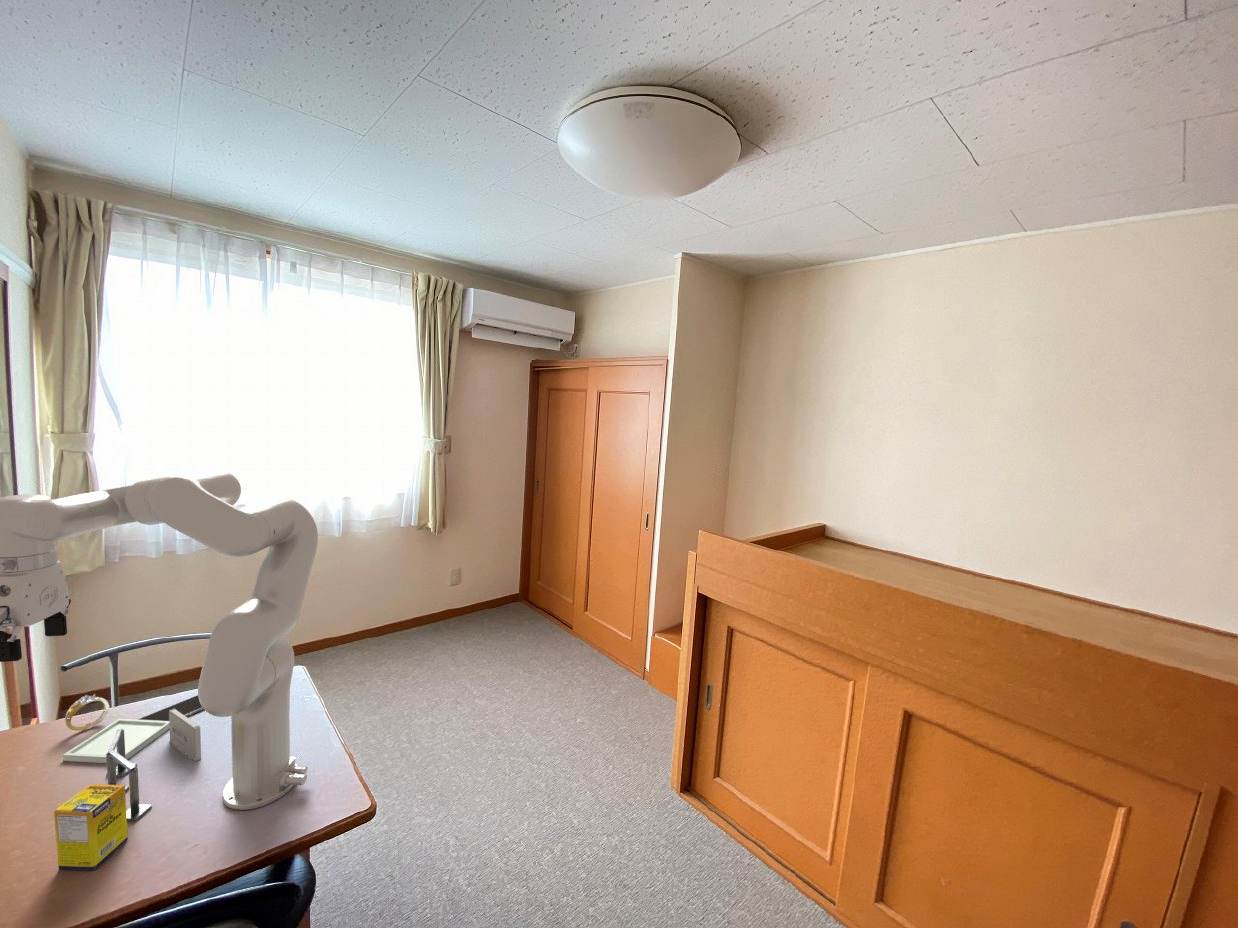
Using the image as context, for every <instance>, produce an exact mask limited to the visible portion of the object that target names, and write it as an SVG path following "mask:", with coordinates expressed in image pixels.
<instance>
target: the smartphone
mask: <svg viewBox="0 0 1238 928" xmlns="http://www.w3.org/2000/svg"><path fill="white" fill-rule="evenodd" d="M172 709H176V710H177V711H178V712H180V713H181V714H183V715H184V716H186V717H187V718H189V717H191V716H194V715H195V714H198V713H200V712H203V711H205V710H204V709H203V707H202V706H201V704H200V701H199V698H198V694H197V695H195V696H192V697H190V698H188V699H185V700H182V701H180V702H177V703H175V704H173V705H170V706H168V707H165V708H163V709H160V710H157V711H155V712H153V713H150V714H148V715H145V716H143V717H141V718H137V720H156V721H169V710H172Z"/></svg>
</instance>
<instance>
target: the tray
mask: <svg viewBox="0 0 1238 928" xmlns="http://www.w3.org/2000/svg"><path fill="white" fill-rule="evenodd" d="M118 729H122V730H124V738H125V757H126V760H128V761H129V759H130V758H132V757H133V756H134V755H136V754H138V753H139V751H141V750H142V749H144V748H145V747H146V746H148V745H149V744H151V743H152V742H154V741H155V740H156V739H158V737H160V736H161V735H163V734H164V733H166V732H167V731H168V730H170V726H169V721H156V720H138V718H137V719H134V718H117V719H116V720H115V721H113V722H111V723H110V724H109V725H107V726H105V727H104V728H102V729H101V730H99V731H97V732H96V733H95V734H93V735H91V736H90V737H89V738H86V739H85V740H83V741H82V742H81V743H79V744H77V745H75V746H74V747H72V749H71V748H70V750H68V751H67V752H65V753H63V754H62V761H64V762H73V763H74V762H77V763H94V764H95V763H96V764H97V763H98V764H99V763H100V764H107V760H106V754H107V753H108V750H109V748H110V745H111V743H112V741H113V739H114V736H115V734H116V732H117V730H118ZM114 751H116V752H117V746H116V748H115V750H114ZM116 765H118V764H117V761H116Z"/></svg>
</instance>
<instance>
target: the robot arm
mask: <svg viewBox="0 0 1238 928" xmlns="http://www.w3.org/2000/svg"><path fill="white" fill-rule="evenodd" d="M241 494H242V487H241V484H240V482H239V480H238V479H237V477H236V476H235V475H233V474H231V473H230V472H228V471H225V470H220V469H202V470H196V471H192V472H191V471H190V472H186V473H181V474H174V475H168V476H164V477H157V478H151V479H143V480H140V481H137V482H135V483H133V484H132V485H131V484H130V485H126V486H120V487H114V488H107V489H103V490H102V489H101V490H97V491H96V490H95V491H92V492H84V493H79V494H74V495H69V496H63V497H59V498H51V497H50V496H48V495H45V494H37V493H36V494H34V493H33V494H29V493H27V494H16V495H15V494H14V495H7V496H1V497H0V663H4V662H5V663H7V662H19V661H20V660H22V658H23V654H22V643H21V642H22V641H21V638H18V636H19V634H20V633H21V631H22V629H23V627H24V628H25V627H31V626H34V625H35V624H38V623H39V622H42V621H43V626H44V635H45V637H63V636H66V635H67V634H68V624H67V623H68V622H67V616H66V615H68V614H69V609H68V608H69V606H70V605H71V603H72V601H71V598H72V595H73V592H74V588H71V587H68V583H67V582H68V581H67V578H66V574H65V573H66V572H65V569H64V567H63V564H62V563H61V561H60V560H59V559H58V546H57V542H58V541H63V540H67V539H71V538H75V537H78V536H81V535H84V534H88V533H93V532H95V531H99V530H103V529H104V530H105V529H107V528H112V527H116V526H117V527H118V526H122V525H127V524H131V523H140V524H141V525H146V526H152V525H153V526H154V525H159V524H165V525H167V526H168V527H169V528H172V529H174V530H176V531H177V532H178V533H181V534H182V535H185V536H186V537H189V538H190V539H192V540H194V541H196V542H198V543H200V544H202V545H204V546H206V547H208V548H209V549H212V550H213V551H215V552H217V553H220V554H222V555H225V556H229V557H235V558H236V557H237V558H240V557H248V556H251V555H254V554H256V553H258V552H261V551H263V550H265V549H267V548H268V551H267V553H266V555H265V557H264V559H263V561H262V562H261V565H260V566H259V569H258V572H257V576H256V579H255V580H256V581H255V584H254V587H253V590H252V592H251V595H250V596H249V598H248V599H247V600H246V601H244V603H241V604H240V605H239V606H237V607H235V608H234V609H232V610H231V611H229V612H228V613H226V614H225V615H224V616H222V617H221V619H220V620H219V621H218V622H217V624H216V625H215V627H214V629H213V630H212V632H211V634H210V637H209V639H208V644H207V648H206V652H205V656H204V660H203V663H202V667H201V671H200V674H199V675H200V677H199V680H198V686H197V695H198V698H199V701H200V704H201V706H202V707H203V709H204V710H203V711H205V712H206V713H208V714H210V715H211V716H214V717H219V718H227V717H231V720H230V721H231V727H230V728H231V731H230V732H231V762H232V763H231V766H232V767H231V768H232V769H231V770H232V777H231V779H230V780H229V781H228V782H227V783H226V785H225V787H224V789H223V792H222V800H223V803H224V805H225V806H226V807H228V808H230V809H232V810H240V811H241V810H242V811H244V810H245V811H247V810H253V809H257V808H261V807H264V806H267V805H269V804H271V803H273V802H275V801H277V800H279V799H280V798H281V797H283V796H285V795H286V794H288V792H289V791H290V790H291V789H293V787H294V786H300V787H301V786H304V785H305V784H306V783H307V782H306V781H307V779H308V778H307V777H308V776H307V773H308V766H298V765H297V764H296V757H295V756H291V753H290V752H291V751H290V750H291V744H290V743H291V741H290V739H291V738H290V737H291V736H290V735H291V734H290V733H291V732H290V731H291V730H290V725H291V724H290V723H291V722H290V721H291V720H290V719H291V718H290V708H291V707H290V706H291V704H290V703H291V701H290V700H291V684H292V678H293V671H294V667H295V652H294V647H293V646H292V644H291V642H290V641H289V640H287V639H286V638H285V637H286V636H287V634H289V633H290V632H291V631H292V630H293V629H294V627H295V626H296V625H297V623H298V622H299V618H300V613H301V610H302V606H303V602H304V598H305V595H306V591H307V587H308V583H309V578H310V574H311V570H312V566H313V564H314V560H315V557H316V553H317V548H318V544H319V543H318V542H319V533H318V528H317V527H318V526H317V524H316V522H315V519H314V517H313V516H312V514H311V513H310V512H309V510H308V509H307V508H306V507H305V506H303V505H302V504H301V503H300V502H297V501H296V500H293V499H289V498H283V497H278V498H270V499H266V500H262V501H261V500H260V501H258V502H255V503H252V504H249V505H246V506H243V507H240V508H238V507H236V506H235V504H236V503H237V502H238V501H239V499H240V497H241ZM7 629H10V632H6V630H7Z"/></svg>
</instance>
